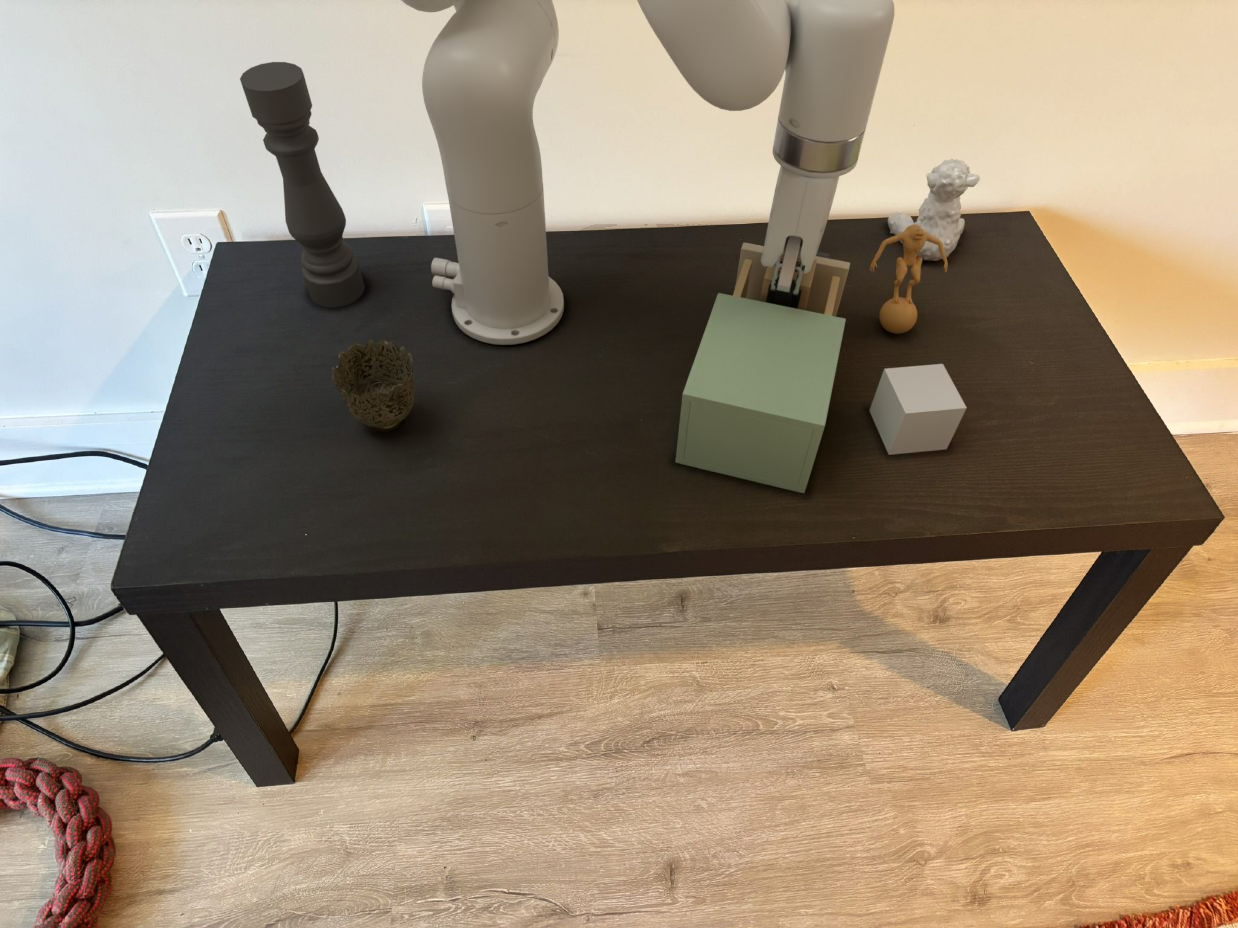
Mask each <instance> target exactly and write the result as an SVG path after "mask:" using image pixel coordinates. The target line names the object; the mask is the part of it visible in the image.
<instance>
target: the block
mask: <svg viewBox="0 0 1238 928" xmlns="http://www.w3.org/2000/svg"><path fill="white" fill-rule="evenodd" d="M781 259H784V256H782V257H781ZM797 262H801V259H797ZM816 263H817V260H815V259H814V262H813V265H812V267H811V270H810V271H809V272H808V273H806V274H804V272H803V276H802V280H801V284H800V288H799V290H802V291H801V296H800V300H799V304H798V309H800V310H805V308H806V304H807V300H808V296H809V292H810V288H811V284H812V280H813V275H814V271H815V267H816ZM774 269H775V264H774V265H773V267H768V268H767V271H766V274H765V277H764V282H763V288H762V293H761V298H760V301H761V302H766V299H767V293H768V288H769V284H772V279H773V274H774ZM780 272H781V269H780ZM797 273H798V272H795V271H794V275H793V280H795V281H796V277H797ZM779 277H780V274H779Z"/></svg>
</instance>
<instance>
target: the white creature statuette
mask: <svg viewBox="0 0 1238 928" xmlns="http://www.w3.org/2000/svg"><path fill="white" fill-rule="evenodd" d="M925 176H926V181H927V187H928V188H929V193H928V195H927V197H926V198H924V200H923V202H922V204H920V207H919V209H918V217H917V219H916V221H915V222H914V219H913V218H912V217H911V216H910V215H908V214H906V213H905V212H899V211H896V212H892V213H891V214H890V215H889V216H888V218H887V225H888V228H889V230H890V231H889V234H893V236H896V235H897V234H899V233H901V232H904V231H905V229H906V228H907V227H908V226H910V225H919V226H920V227H921V228H922V229H923V231H925V232H927V233H929V234H930V235H931V236H933V237H936V238H937V239H939V240H940V241H941V242H942V243H943V249H944V252H945V254H946V258H949V256H950V254H951V253H952V252H953V251H954V250H955V249H956V248H957V245H958V242H959V240H960V238H961V235H962V234H963V232H964V228H965V224H966V221H965V219H964V218H962V217H961V216H962V212H961V209H962V205H961V204H962V203H961V196H963V195H964V193H965V192H967V190H968V188H973V187H975V186H976V185H978V183H979V182H980V180H981V176H980V175H978V174H974V173H971V171H970V166H969V165H968V164H967V163H965V161H964V160H959V159H953V158H950V159H944V160H943V161H942V163H940V164H939V165H938V166H937V165H936V166H935V167H933V168H932V170H931V172H928V173H926V174H925ZM899 242H900V244H902V245H903V241H899ZM919 257H921V258H922V261H928V262H937V261H940V260H943V259H942V257H941V254H940V250H939V246H938V245H937V244H934V243H931V242H929V241H925V244H924V246H923V248H922V249H921V250H920V252H919V253H918V254H917V257H916V259H917V258H919Z"/></svg>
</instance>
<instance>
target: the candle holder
mask: <svg viewBox="0 0 1238 928" xmlns="http://www.w3.org/2000/svg"><path fill="white" fill-rule="evenodd" d="M239 80H240V83H241V86H242V90H243V92H244V96H245V99H246V102H247V104H248V108H249V110H250V113H251V116H252V118H253V119H255V120H256V122H257V125H258V126H259V127H261V128H262V129H263V130H264V132H265V135H264V137H263V139H262V142H263V145H264V147H265V150H266V151H267V152H269V153H270V154H271V155H273V156H274V157H275V159H276V161H277V165H278V167H279V170H280V174H281V177H282V185H283V186H282V187H283V200H284V201H283V202H284V216H285V217H284V219H285V220H284V221H285V224H286V227H287V230H288V233H289V235H290V236H291V238H292V239H294V240H295V241H296V242H298V243H299V244H300V245H301V248H302V249H303V250H302V252H301V256H300V258H299V259H300V262H301V265H302V269H301V273H302V275H303V278H304V282H305V284H306V287H307V290H308V293H309V297H310V299H311V301H312V302H313V303H315V304H316V305H317V306H320V307H324V308H342V307H345V306H349V305H350V304H353V303H355V302H356V301H358V300H359V298H360V297H361V296H362V295H363V294H364V290H365V288H366V287H365V282H364V279H363V276H362V271H361V269H360V264H359V262H358V260H357V257H356V256H354V252H353V249H352V247H351V246H350V245H349V244H347V242H345V241H344V236H343V235H344V232H345V228H346V226H347V218H346V214H345V212H344V210H343V208H342V206H341V204H340V203H339V200H338V198H337V197H336V196H335V193H334V192H333V190H332V189H331V186H330V185H329V183H328V181H327V180H326V177H325V176H324V174H323V173H322V170H321V166H320V163H319V159H318V156H317V153H316V147H317V145H318V143H319V140H320V137H319V134H318V132H317V129H315V128H314V127H312V126H310V123H311V122H310V119H311V117H312V115H313V114H312V111H311V110H312V108H313V102H312V99H311V96H310V91H309V88H308V84H307V81H306V78H305V73H304V71H303V69H302V67H300V66H298V65H296V64H295V63H291V62H287V61H271V62H264V63H260V64H257V65H255V66H252V67H249V68H248V69H247V70H245V71H244V72H243V73H242V74H241V76H240V77H239Z"/></svg>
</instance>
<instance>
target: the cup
mask: <svg viewBox="0 0 1238 928" xmlns="http://www.w3.org/2000/svg"><path fill="white" fill-rule="evenodd" d="M337 358H338V362H339V364H338V365H336V368H335V367H331V368H330V372H331V373H330V374H331V380H332V383H333V384H334V385H335V387H336V389H337V391H338V393H339V395H340V397H341V399H342V401H343V403H344V405H345V406H346V408H347V409H348V411H349V412H350V414H351V415H352V416H353V417H354V418H355V419H356V420H357V421H358V422H359V423H361V424H363V425H365V426H368V427H370V428H371V429H372V430H373V431H374V432H376V433H379V434H383V435H388V434H393V433H396V432H398V431H399V430H401V428H402V427H403V426H404V424H405V422H406V417H408V415H409V414H410V413H411V411H412V409H413V406H414V404H415V397H416V396H415V395H416V394H415V393H416V389H415V388H416V387H415V386H416V385H415V376H414V375H415V374H414V363H413V356H412V353H407V350H406V347H405V346H402V347H401V348H399V346H397V344H396V343H395V342H394V341H392V340H391V341H390V342H388V341H386V339H381V340H380V342H379V343H378V344H377V345H376V344H375V343H374V341H373V340H372V339H369V340H368V341H367V342H366V344H365V346H364V345H362V344H361V343H360V344H359V343H352V344H351V345H350V346H349V347H348V348H347V351H346V352H344V351H340V352H339V353H338V355H337Z"/></svg>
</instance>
